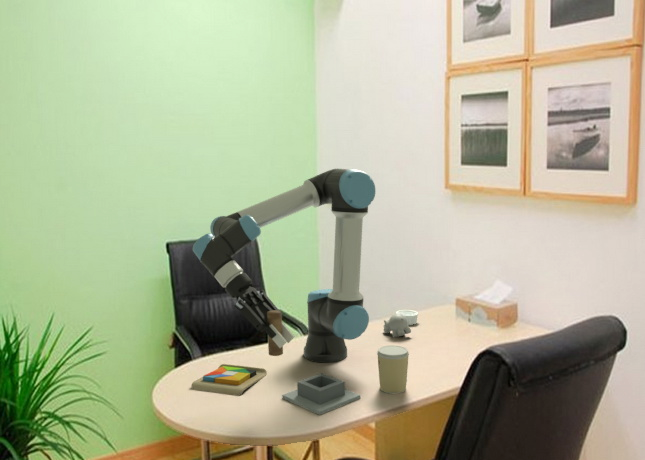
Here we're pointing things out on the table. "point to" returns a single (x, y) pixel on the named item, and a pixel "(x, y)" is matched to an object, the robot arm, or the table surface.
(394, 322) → the toy rhinoceros
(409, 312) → the ramekin
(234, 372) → the wooden puzzle
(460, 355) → the table surface
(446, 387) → the table surface
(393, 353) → the coffee cup
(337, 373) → the table surface
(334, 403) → the socket
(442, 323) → the table surface
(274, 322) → the peg
